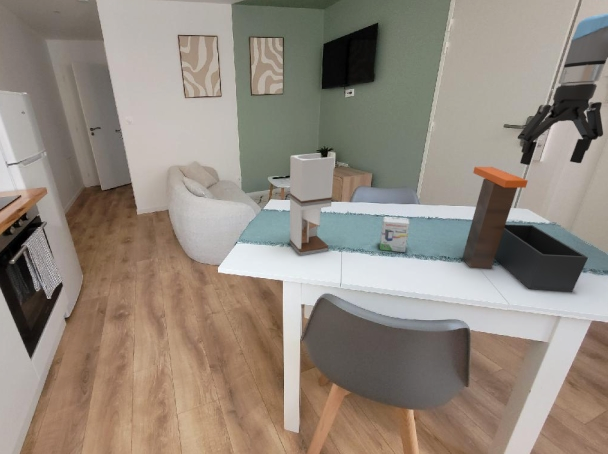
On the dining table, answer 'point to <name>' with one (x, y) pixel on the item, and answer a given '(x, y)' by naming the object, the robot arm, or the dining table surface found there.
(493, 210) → the post
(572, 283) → the trash bin
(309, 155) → the white coffee grinder
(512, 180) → the orange plank
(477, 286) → the dining table surface
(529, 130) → the robot arm
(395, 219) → the ink box
